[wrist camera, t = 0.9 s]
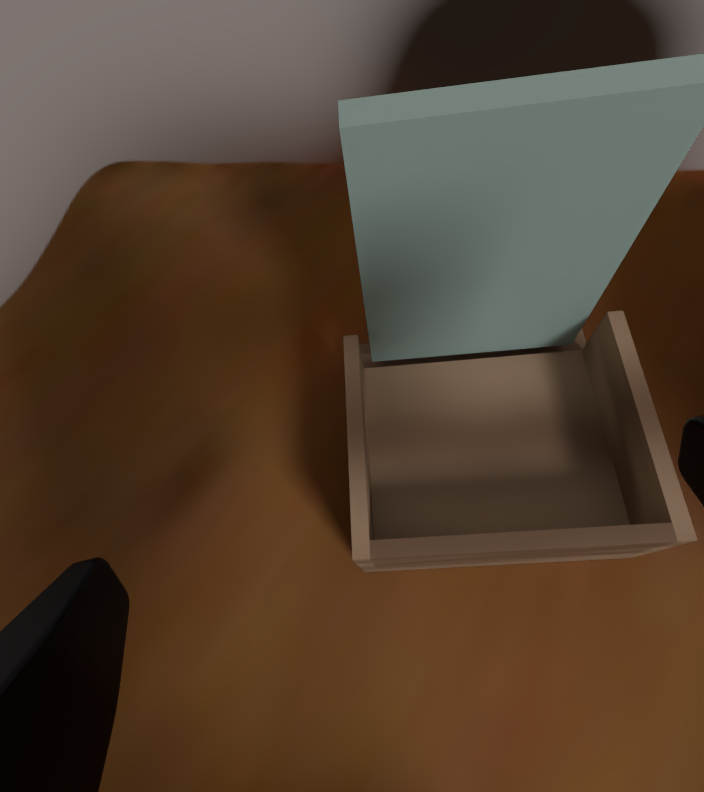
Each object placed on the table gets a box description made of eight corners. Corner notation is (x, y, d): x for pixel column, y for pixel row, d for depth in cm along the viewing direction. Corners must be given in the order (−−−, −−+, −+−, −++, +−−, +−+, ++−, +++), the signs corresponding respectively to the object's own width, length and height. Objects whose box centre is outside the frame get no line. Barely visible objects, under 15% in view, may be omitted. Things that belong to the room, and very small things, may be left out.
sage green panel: (568, 350, 22) (731, 79, 11) (372, 366, 23) (339, 128, 12) (561, 322, 23) (709, 39, 12) (370, 339, 24) (337, 87, 12)
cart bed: (632, 557, 20) (697, 540, 16) (364, 572, 21) (352, 559, 16) (573, 337, 24) (611, 273, 20) (353, 356, 25) (341, 299, 21)
